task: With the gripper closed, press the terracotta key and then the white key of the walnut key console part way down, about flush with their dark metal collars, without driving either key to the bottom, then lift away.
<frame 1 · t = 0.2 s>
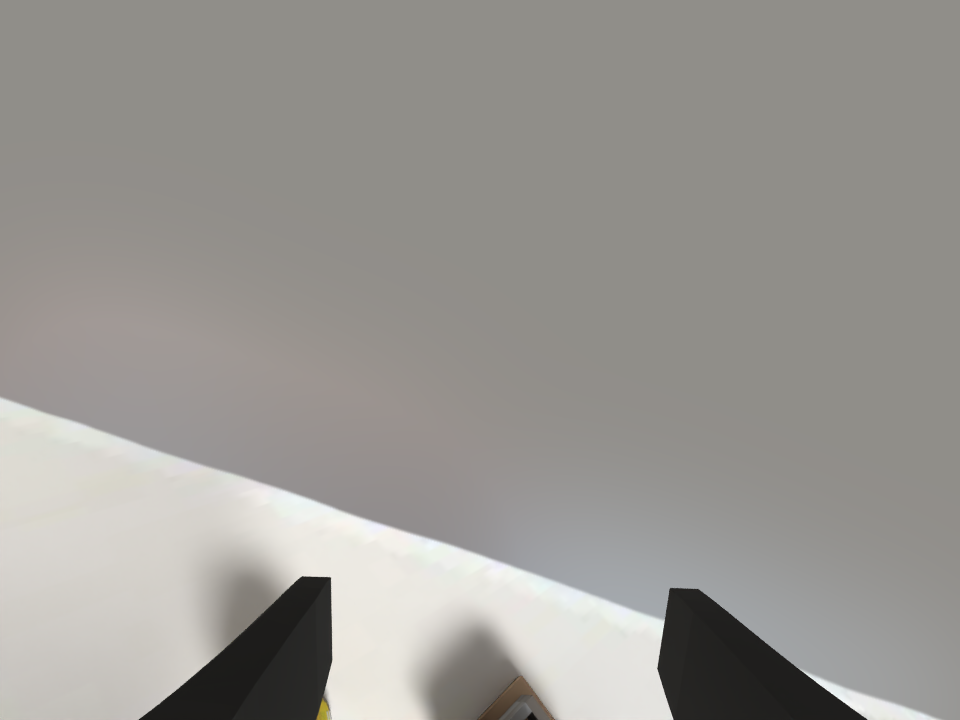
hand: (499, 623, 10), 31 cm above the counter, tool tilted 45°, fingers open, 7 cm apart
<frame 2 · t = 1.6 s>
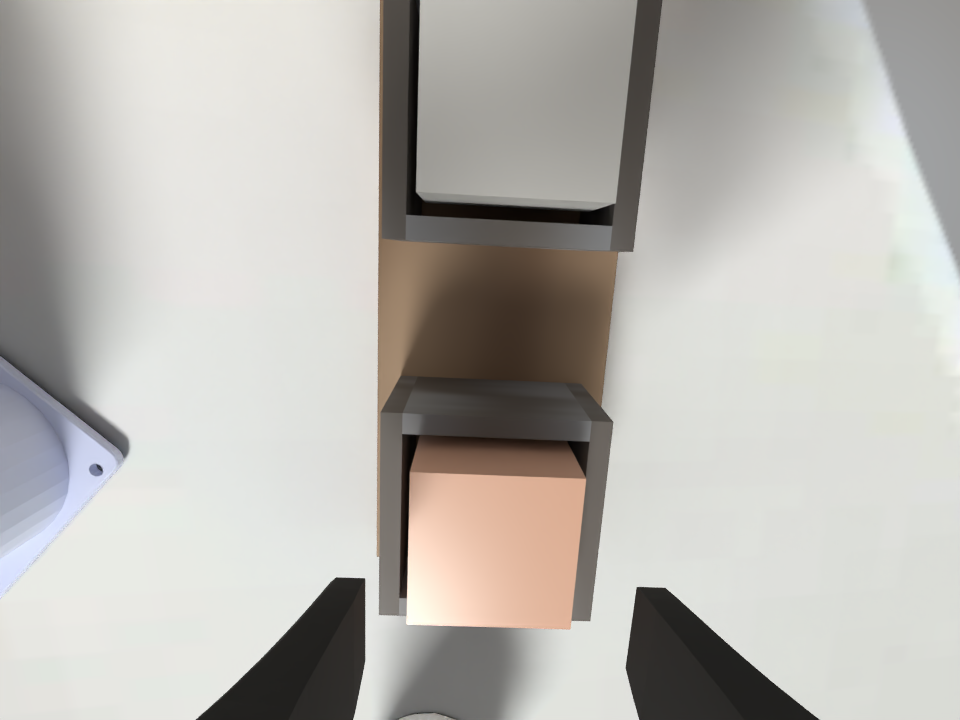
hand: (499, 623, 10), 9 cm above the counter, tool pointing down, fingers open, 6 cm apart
white key: (517, 104, 11), point 6 cm above the counter, slide at 0.0 cm
key console: (493, 309, 18), on the counter
clay key: (491, 527, 14), point 6 cm above the counter, slide at 0.0 cm
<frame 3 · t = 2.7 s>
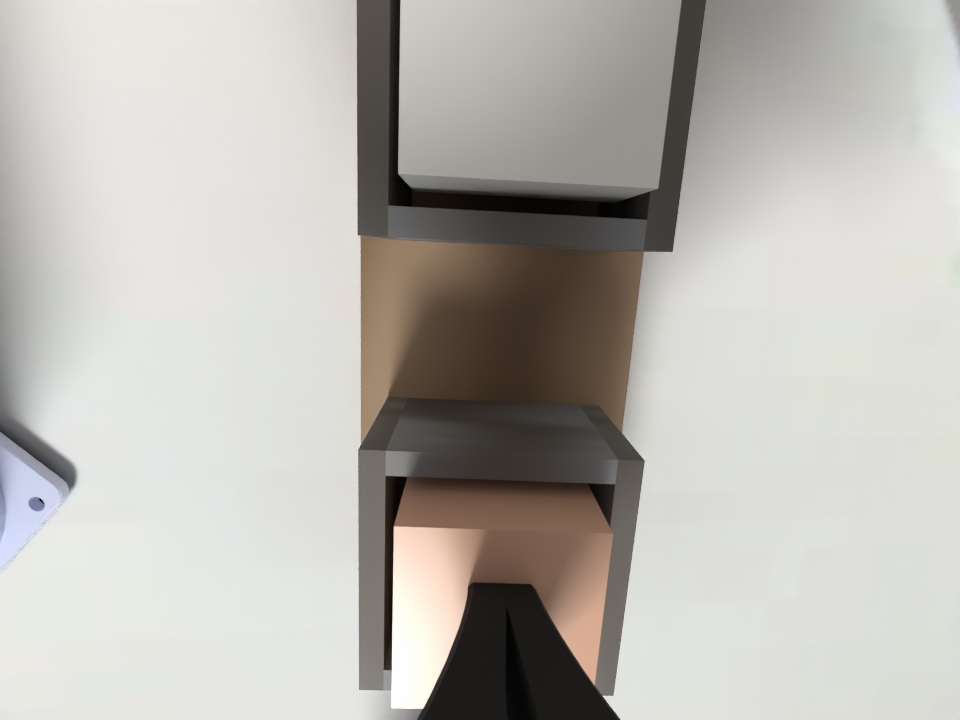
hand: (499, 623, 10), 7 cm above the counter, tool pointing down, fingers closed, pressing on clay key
white key: (529, 64, 9), point 6 cm above the counter, slide at 0.0 cm
key console: (495, 319, 16), on the counter
clay key: (494, 584, 11), point 6 cm above the counter, slide at 0.1 cm, touching gripper
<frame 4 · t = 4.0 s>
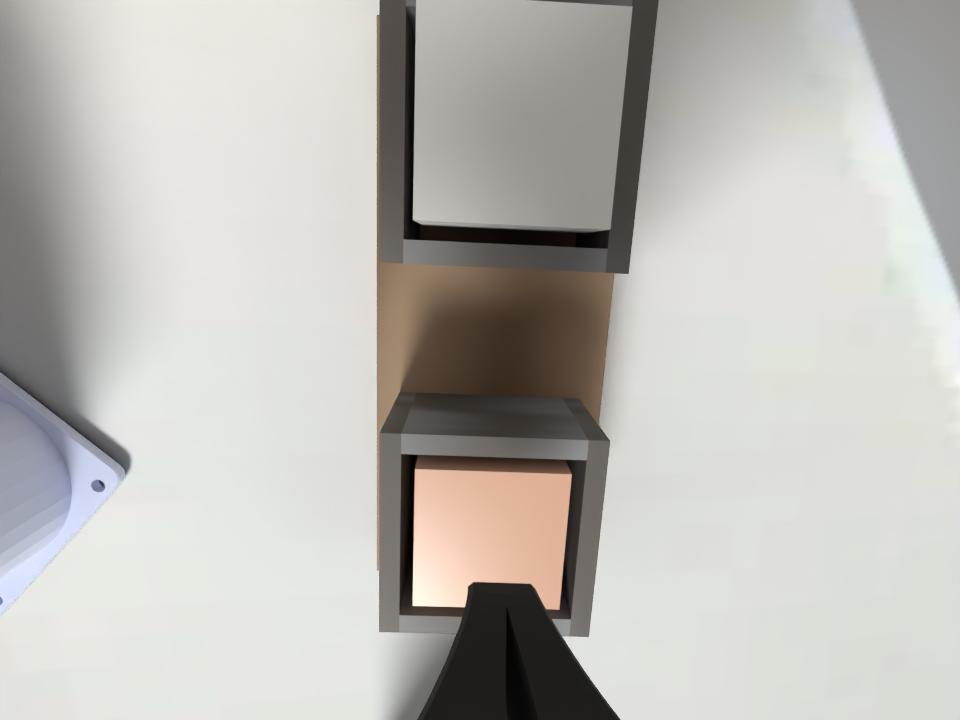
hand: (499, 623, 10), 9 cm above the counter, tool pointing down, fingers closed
white key: (513, 131, 12), point 6 cm above the counter, slide at 0.0 cm
key console: (491, 325, 18), on the counter
clay key: (488, 518, 15), point 4 cm above the counter, slide at 1.4 cm
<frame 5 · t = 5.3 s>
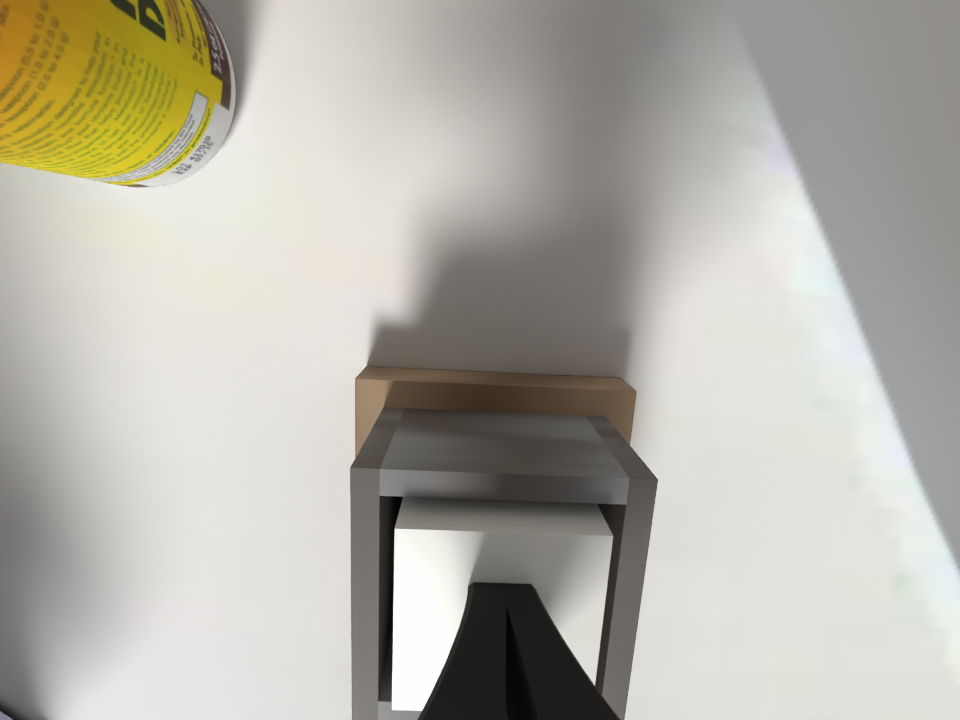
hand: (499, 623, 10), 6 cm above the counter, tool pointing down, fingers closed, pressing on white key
white key: (495, 586, 12), point 5 cm above the counter, slide at 0.9 cm, touching gripper
key console: (479, 631, 17), on the counter
supplement bottle: (146, 86, 14), on the counter
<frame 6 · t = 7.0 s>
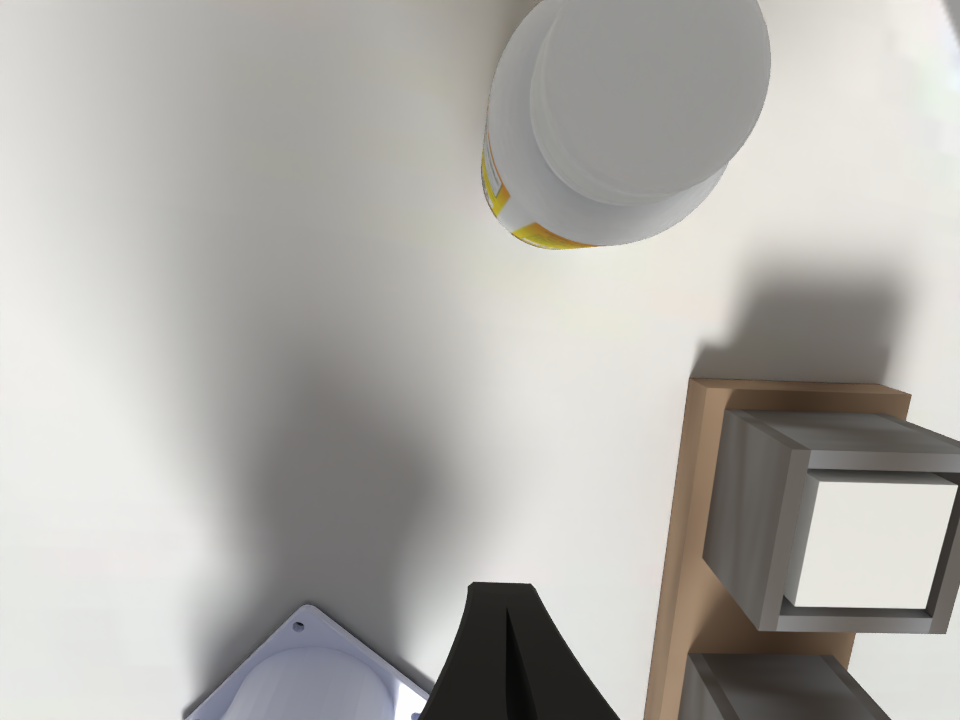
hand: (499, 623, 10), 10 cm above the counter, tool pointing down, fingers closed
white key: (844, 526, 17), point 4 cm above the counter, slide at 1.4 cm
key console: (749, 584, 22), on the counter
supplement bottle: (553, 174, 18), on the counter
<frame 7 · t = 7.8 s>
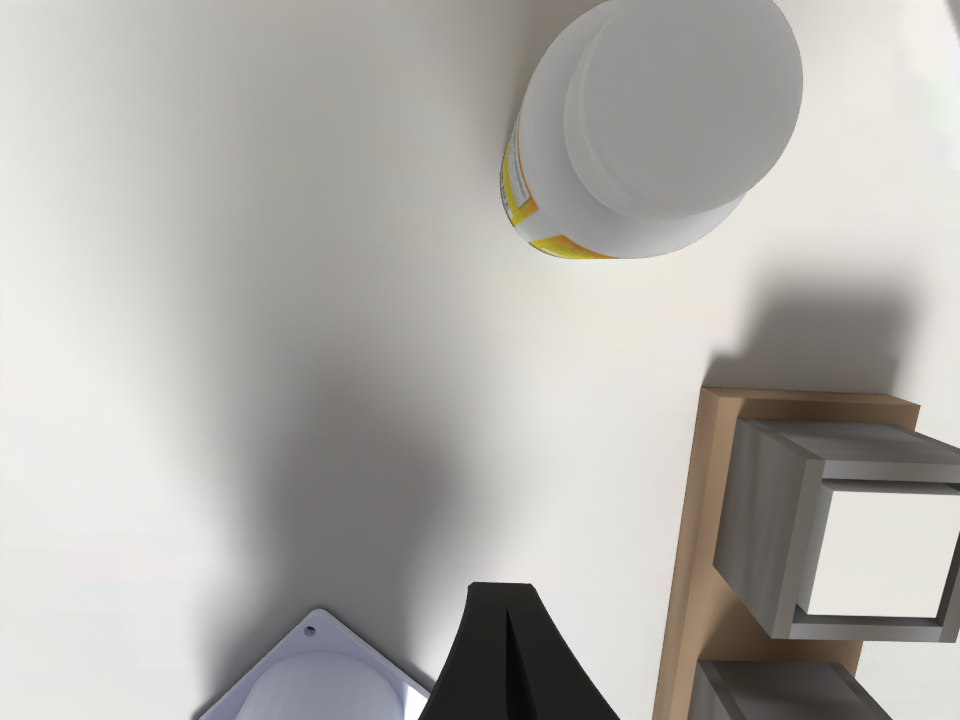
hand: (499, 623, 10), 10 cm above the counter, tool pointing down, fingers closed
white key: (856, 535, 17), point 4 cm above the counter, slide at 1.4 cm
key console: (757, 591, 22), on the counter
supplement bottle: (570, 184, 19), on the counter
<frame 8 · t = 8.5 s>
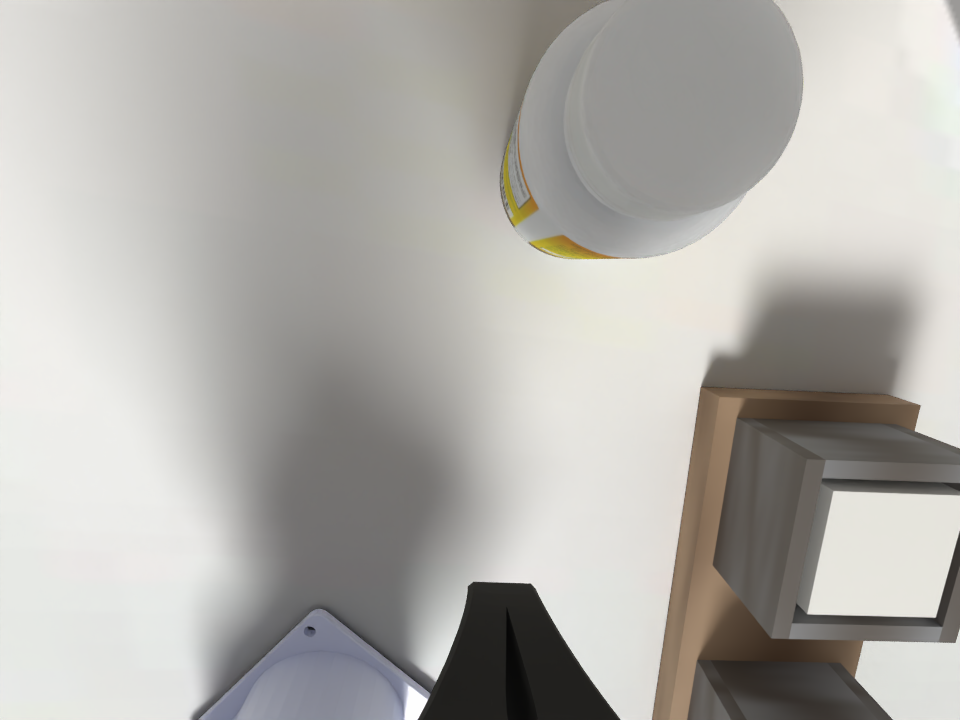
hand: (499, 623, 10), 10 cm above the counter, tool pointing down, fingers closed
white key: (856, 535, 17), point 4 cm above the counter, slide at 1.4 cm
key console: (757, 591, 22), on the counter
supplement bottle: (570, 184, 19), on the counter
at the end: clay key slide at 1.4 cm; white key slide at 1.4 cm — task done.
